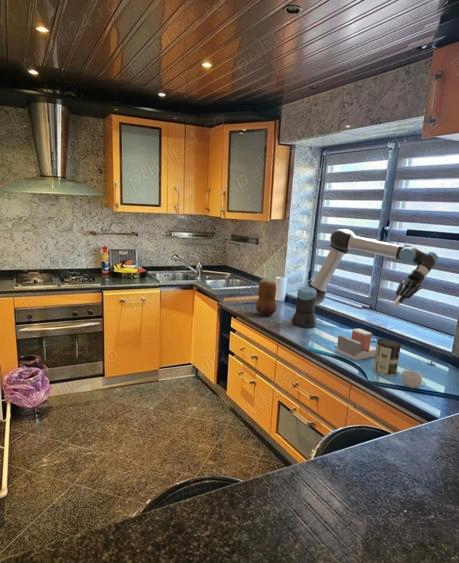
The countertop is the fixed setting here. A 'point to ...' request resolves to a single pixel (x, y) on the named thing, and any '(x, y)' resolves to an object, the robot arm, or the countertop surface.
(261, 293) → the brown curvy cylinder
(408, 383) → the teacup
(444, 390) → the countertop surface
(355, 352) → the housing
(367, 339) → the orange rectangular block
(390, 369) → the coffee can
